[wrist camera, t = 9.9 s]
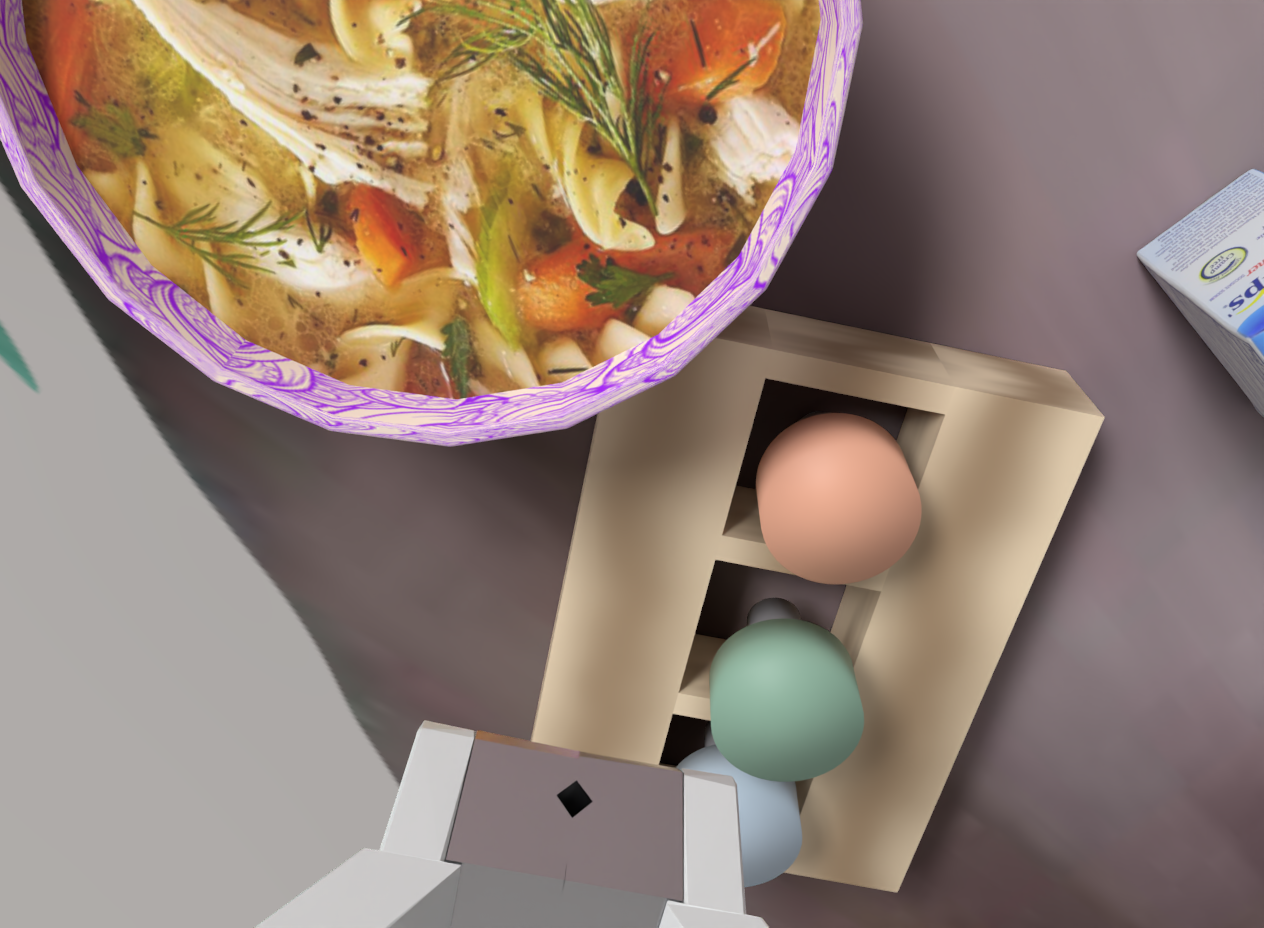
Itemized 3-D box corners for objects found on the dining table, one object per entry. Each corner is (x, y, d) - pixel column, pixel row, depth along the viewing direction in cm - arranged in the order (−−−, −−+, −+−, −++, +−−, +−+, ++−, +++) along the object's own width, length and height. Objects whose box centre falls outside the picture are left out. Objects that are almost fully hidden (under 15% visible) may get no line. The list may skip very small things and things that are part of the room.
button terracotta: (907, 387, 39) (943, 463, 34) (866, 508, 41) (893, 597, 36) (769, 359, 39) (783, 430, 33) (735, 483, 41) (743, 568, 35)
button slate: (802, 697, 45) (818, 801, 40) (771, 787, 47) (782, 897, 42) (682, 674, 45) (683, 776, 40) (657, 767, 47) (654, 874, 42)
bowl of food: (201, -513, 29) (-62, -744, 19) (911, -263, 31) (1027, -348, 21) (138, 210, 38) (-65, 324, 28) (693, 371, 40) (697, 534, 29)
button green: (857, 577, 40) (883, 677, 35) (820, 684, 43) (839, 793, 37) (724, 552, 40) (731, 648, 35) (694, 660, 42) (695, 767, 37)
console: (1065, 371, 39) (1104, 417, 36) (881, 821, 49) (897, 892, 45) (624, 280, 38) (618, 318, 35) (527, 756, 48) (515, 824, 45)
